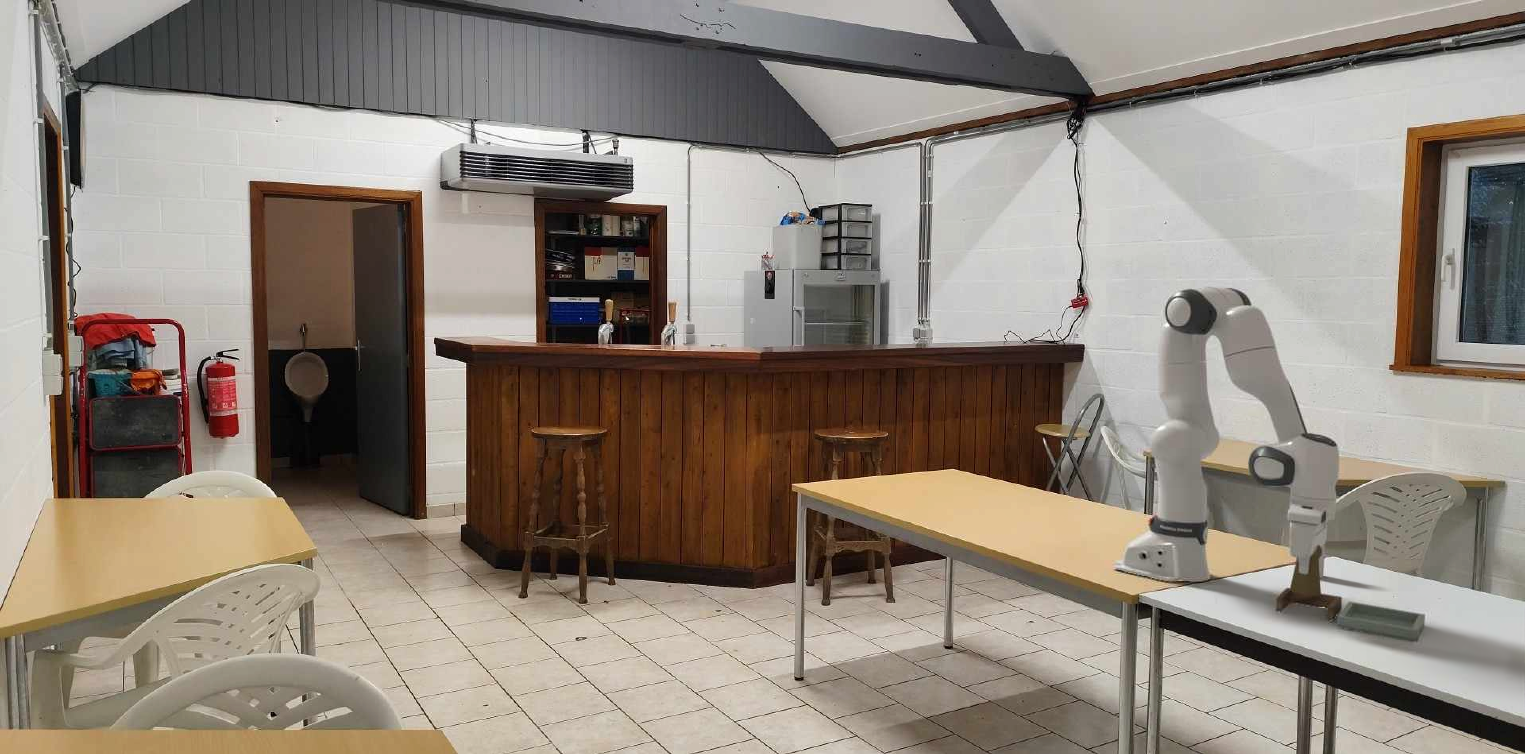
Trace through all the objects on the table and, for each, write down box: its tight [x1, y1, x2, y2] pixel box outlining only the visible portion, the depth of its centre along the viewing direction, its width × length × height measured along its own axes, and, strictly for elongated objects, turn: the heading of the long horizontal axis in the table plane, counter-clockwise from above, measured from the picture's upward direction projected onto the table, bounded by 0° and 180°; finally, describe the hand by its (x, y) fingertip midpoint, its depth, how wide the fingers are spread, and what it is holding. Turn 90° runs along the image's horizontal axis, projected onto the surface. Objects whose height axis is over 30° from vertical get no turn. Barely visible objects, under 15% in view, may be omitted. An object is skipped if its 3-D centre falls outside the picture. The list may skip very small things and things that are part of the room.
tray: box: [1336, 601, 1426, 643], centre depth 211 cm, size 14×14×2 cm
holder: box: [1275, 587, 1343, 622], centre depth 222 cm, size 11×10×3 cm
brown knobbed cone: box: [1289, 545, 1322, 596], centre depth 221 cm, size 6×6×11 cm
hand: (1306, 570), depth 221 cm, fingers closed on brown knobbed cone, 4 cm apart
